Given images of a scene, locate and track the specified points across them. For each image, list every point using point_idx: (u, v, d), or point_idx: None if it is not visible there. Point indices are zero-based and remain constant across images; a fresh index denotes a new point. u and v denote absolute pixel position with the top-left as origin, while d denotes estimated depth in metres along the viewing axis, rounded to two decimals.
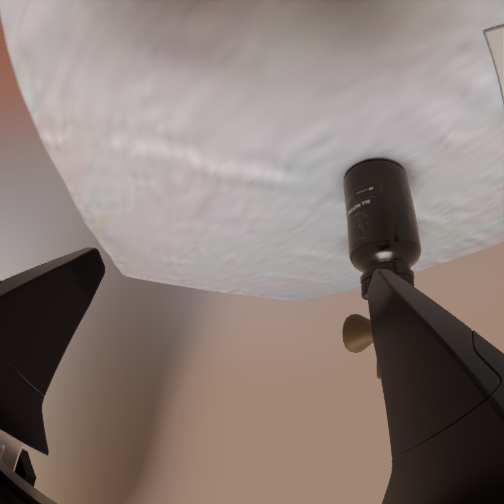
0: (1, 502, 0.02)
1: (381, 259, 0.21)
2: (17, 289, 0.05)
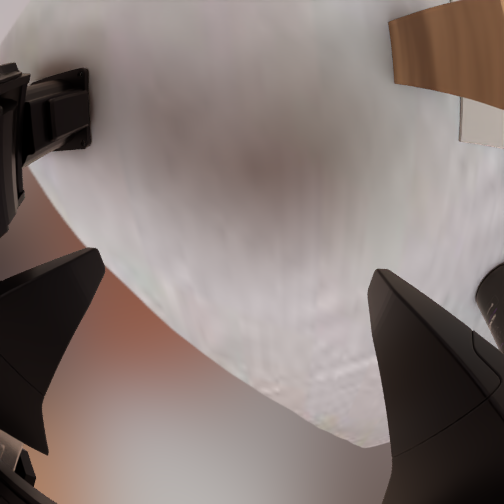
0: (1, 502, 0.02)
1: None
2: (17, 289, 0.05)
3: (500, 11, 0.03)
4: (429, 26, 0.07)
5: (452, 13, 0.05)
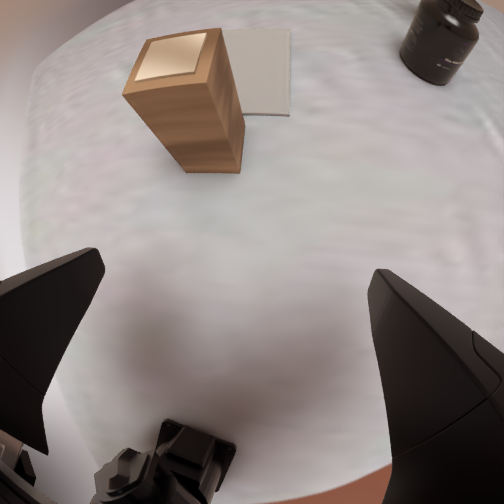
0: (1, 502, 0.02)
1: (459, 22, 0.12)
2: (17, 289, 0.05)
3: (134, 93, 0.11)
4: (175, 142, 0.17)
5: (155, 124, 0.14)
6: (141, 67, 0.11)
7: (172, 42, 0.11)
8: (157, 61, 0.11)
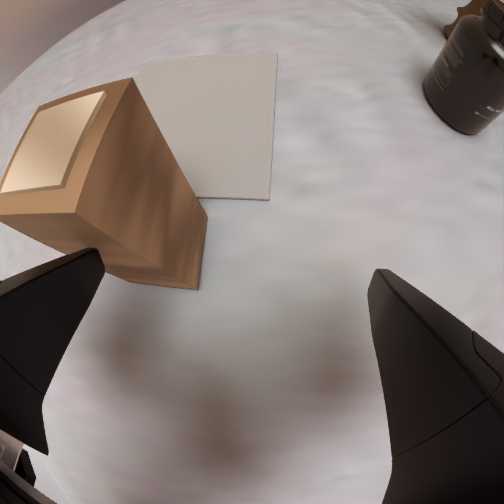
0: (1, 502, 0.02)
1: None
2: (17, 289, 0.05)
3: (0, 216, 0.06)
4: None
5: (55, 246, 0.09)
6: (12, 165, 0.06)
7: (57, 113, 0.06)
8: (29, 155, 0.06)
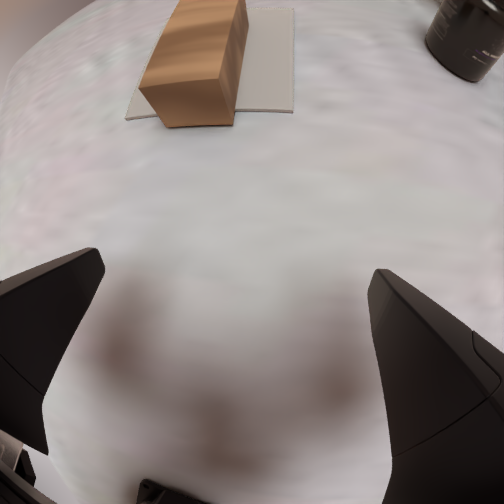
0: (1, 502, 0.02)
1: (500, 8, 0.06)
2: (17, 289, 0.05)
3: None
4: (177, 28, 0.13)
5: (179, 11, 0.13)
6: None
7: None
8: None
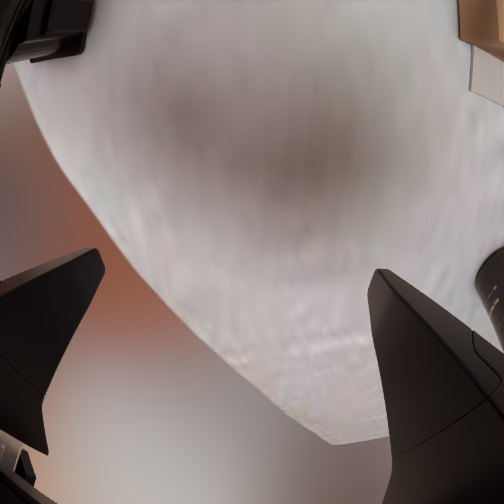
0: (1, 502, 0.02)
1: None
2: (17, 289, 0.05)
3: None
4: None
5: None
6: None
7: None
8: None
